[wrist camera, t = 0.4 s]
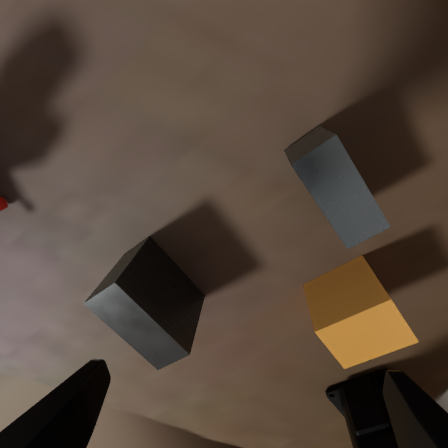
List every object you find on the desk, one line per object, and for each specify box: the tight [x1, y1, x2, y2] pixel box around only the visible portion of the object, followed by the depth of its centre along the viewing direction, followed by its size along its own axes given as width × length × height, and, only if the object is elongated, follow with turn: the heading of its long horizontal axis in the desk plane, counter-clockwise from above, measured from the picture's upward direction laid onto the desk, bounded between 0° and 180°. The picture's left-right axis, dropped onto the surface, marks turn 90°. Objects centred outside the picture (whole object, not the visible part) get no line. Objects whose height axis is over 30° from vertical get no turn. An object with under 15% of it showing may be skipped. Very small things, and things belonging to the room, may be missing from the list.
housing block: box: [303, 256, 419, 369], centre depth 20 cm, size 4×5×5 cm
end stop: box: [84, 236, 205, 370], centre depth 21 cm, size 7×3×6 cm, turn 37°
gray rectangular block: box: [284, 126, 391, 249], centre depth 16 cm, size 6×2×4 cm, turn 37°
